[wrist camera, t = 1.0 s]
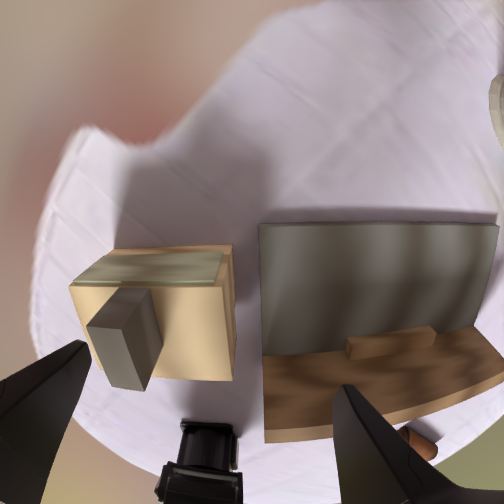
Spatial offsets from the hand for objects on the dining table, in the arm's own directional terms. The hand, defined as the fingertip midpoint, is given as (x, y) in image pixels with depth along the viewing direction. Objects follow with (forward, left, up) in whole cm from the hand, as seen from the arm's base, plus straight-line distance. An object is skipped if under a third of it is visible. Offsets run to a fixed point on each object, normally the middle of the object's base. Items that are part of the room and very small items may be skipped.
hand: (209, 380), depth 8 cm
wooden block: (-5, -3, -13) cm, 15 cm away
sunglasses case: (+26, -38, -14) cm, 48 cm away
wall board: (+14, -5, -13) cm, 20 cm away
